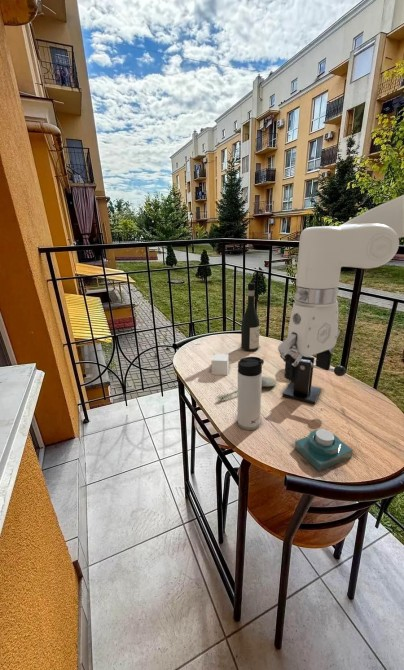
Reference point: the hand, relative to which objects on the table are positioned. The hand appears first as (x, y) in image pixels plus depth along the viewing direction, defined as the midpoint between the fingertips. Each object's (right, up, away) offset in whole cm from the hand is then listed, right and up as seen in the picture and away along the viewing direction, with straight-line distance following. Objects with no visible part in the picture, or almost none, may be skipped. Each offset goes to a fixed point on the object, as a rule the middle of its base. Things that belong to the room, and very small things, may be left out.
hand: (307, 374), depth 60 cm
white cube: (-15, -6, +50) cm, 52 cm away
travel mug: (-9, -17, +19) cm, 27 cm away
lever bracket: (+10, -11, +32) cm, 36 cm away
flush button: (+6, -17, +7) cm, 19 cm away
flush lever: (+14, -3, +26) cm, 30 cm away
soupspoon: (-7, -11, +35) cm, 37 cm away
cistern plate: (+7, -20, +8) cm, 23 cm away
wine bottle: (0, +2, +69) cm, 69 cm away
